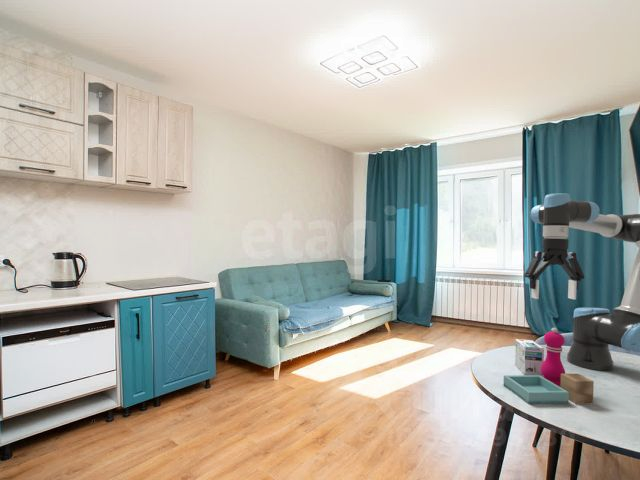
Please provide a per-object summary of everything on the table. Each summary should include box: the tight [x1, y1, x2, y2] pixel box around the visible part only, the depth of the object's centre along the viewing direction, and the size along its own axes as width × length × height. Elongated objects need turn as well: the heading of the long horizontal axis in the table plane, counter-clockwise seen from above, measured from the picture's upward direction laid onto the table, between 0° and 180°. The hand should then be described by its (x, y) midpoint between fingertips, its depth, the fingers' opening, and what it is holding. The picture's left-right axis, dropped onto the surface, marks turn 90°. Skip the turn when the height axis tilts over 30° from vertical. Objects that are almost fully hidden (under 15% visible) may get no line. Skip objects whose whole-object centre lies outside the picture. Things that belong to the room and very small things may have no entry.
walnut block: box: [560, 373, 595, 405], centre depth 111 cm, size 6×6×7 cm
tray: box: [502, 374, 570, 405], centre depth 113 cm, size 13×13×4 cm
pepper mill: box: [541, 327, 566, 387], centre depth 121 cm, size 7×7×20 cm
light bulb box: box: [514, 338, 545, 377], centre depth 134 cm, size 11×7×11 cm, turn 168°
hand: (553, 298), depth 121 cm, fingers open, 13 cm apart
